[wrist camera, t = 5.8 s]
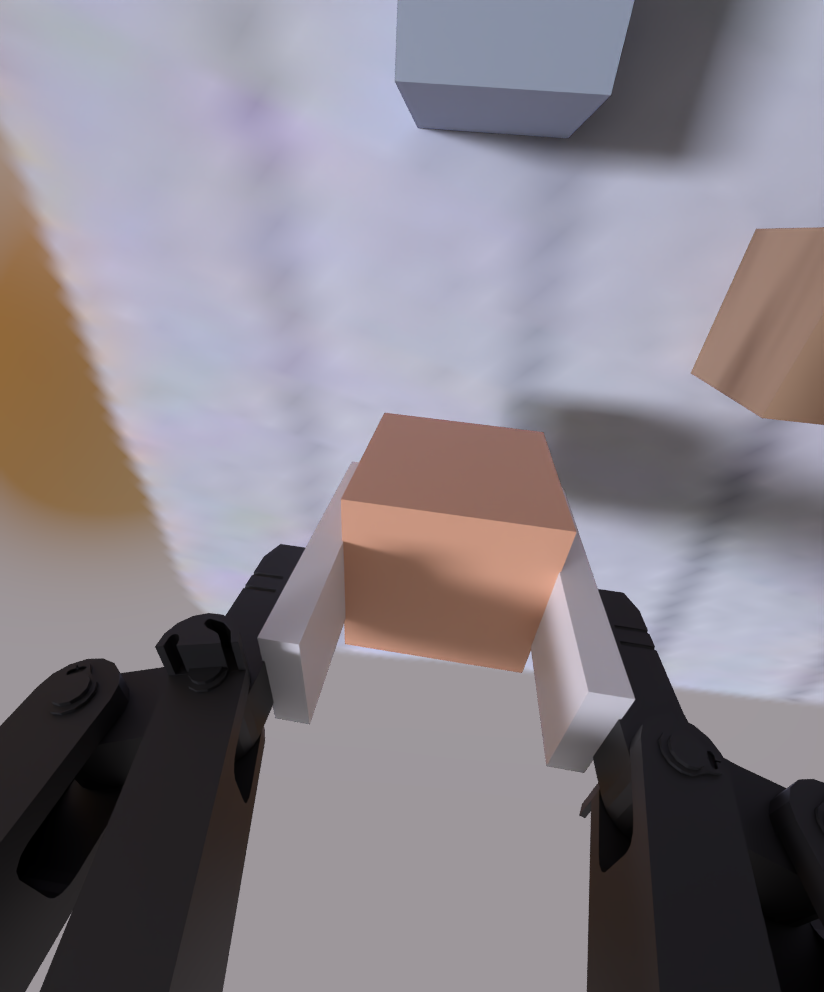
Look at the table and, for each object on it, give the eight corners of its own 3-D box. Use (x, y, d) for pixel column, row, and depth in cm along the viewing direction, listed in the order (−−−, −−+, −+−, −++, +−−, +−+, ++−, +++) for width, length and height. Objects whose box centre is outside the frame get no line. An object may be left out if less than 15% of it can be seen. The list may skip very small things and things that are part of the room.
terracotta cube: (543, 432, 12) (576, 531, 8) (509, 552, 15) (521, 672, 11) (384, 412, 13) (340, 499, 9) (379, 534, 16) (344, 643, 11)
